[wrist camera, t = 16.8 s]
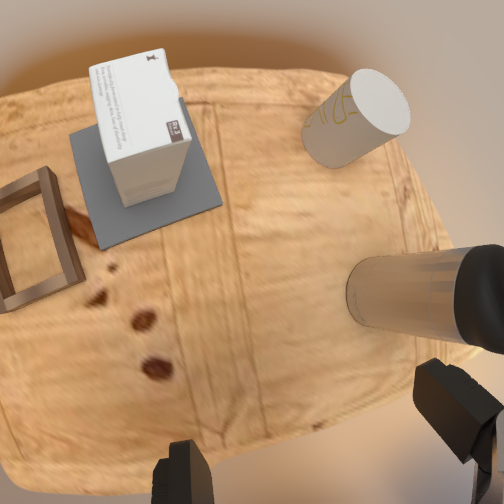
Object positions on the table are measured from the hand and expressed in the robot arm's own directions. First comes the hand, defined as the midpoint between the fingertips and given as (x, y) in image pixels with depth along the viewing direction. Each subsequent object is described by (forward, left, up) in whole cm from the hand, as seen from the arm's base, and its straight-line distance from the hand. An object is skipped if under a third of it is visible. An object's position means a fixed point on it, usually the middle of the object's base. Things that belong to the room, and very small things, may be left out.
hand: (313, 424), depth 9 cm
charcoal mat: (+1, -18, -25) cm, 31 cm away
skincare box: (+1, -18, -24) cm, 30 cm away
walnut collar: (+16, -15, -25) cm, 33 cm away
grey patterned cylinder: (-23, -15, -25) cm, 38 cm away
